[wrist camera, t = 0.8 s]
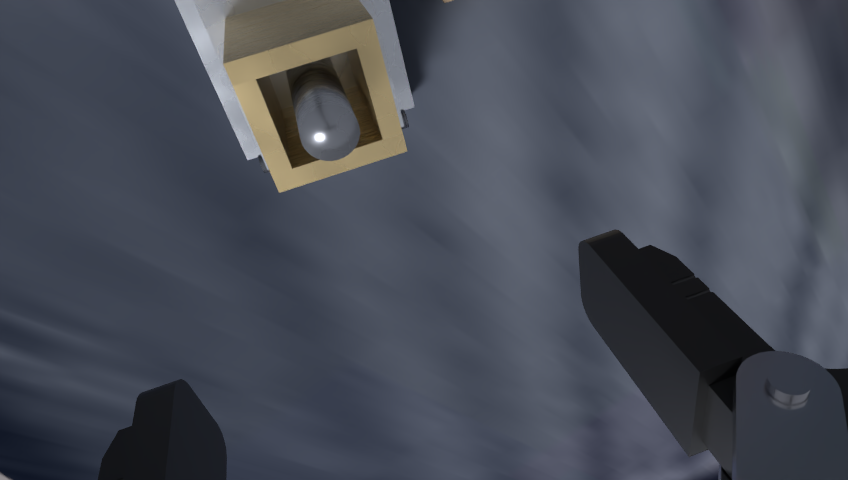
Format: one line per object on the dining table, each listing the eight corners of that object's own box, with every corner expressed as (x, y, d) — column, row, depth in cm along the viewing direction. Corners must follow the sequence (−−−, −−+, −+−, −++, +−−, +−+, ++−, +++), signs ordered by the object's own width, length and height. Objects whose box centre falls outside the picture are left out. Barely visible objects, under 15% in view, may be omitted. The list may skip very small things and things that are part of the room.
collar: (225, 18, 24) (223, 63, 19) (345, -18, 24) (373, 18, 20) (271, 129, 27) (279, 192, 22) (377, 96, 28) (407, 151, 23)
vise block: (145, -76, 27) (80, -9, 15) (352, -134, 28) (436, -111, 16) (247, 148, 34) (254, 308, 23) (408, 97, 35) (494, 226, 23)
